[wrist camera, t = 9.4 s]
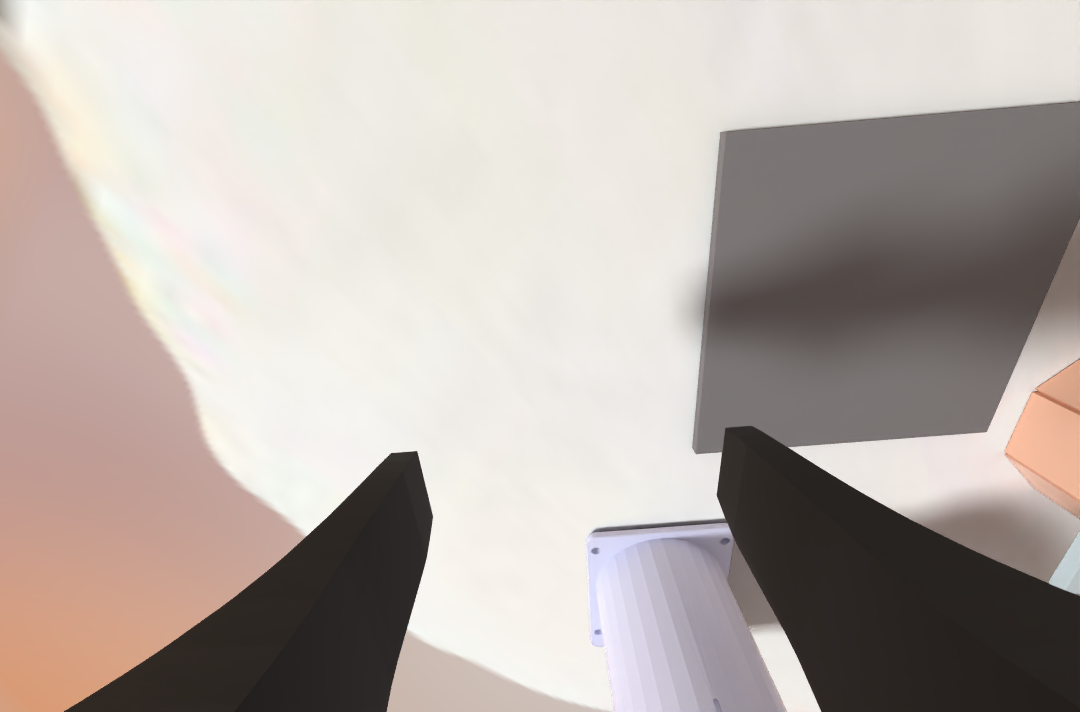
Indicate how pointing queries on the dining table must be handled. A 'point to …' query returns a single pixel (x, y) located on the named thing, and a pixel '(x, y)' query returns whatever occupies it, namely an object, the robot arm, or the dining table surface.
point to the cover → (1069, 569)
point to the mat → (880, 271)
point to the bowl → (1051, 440)
